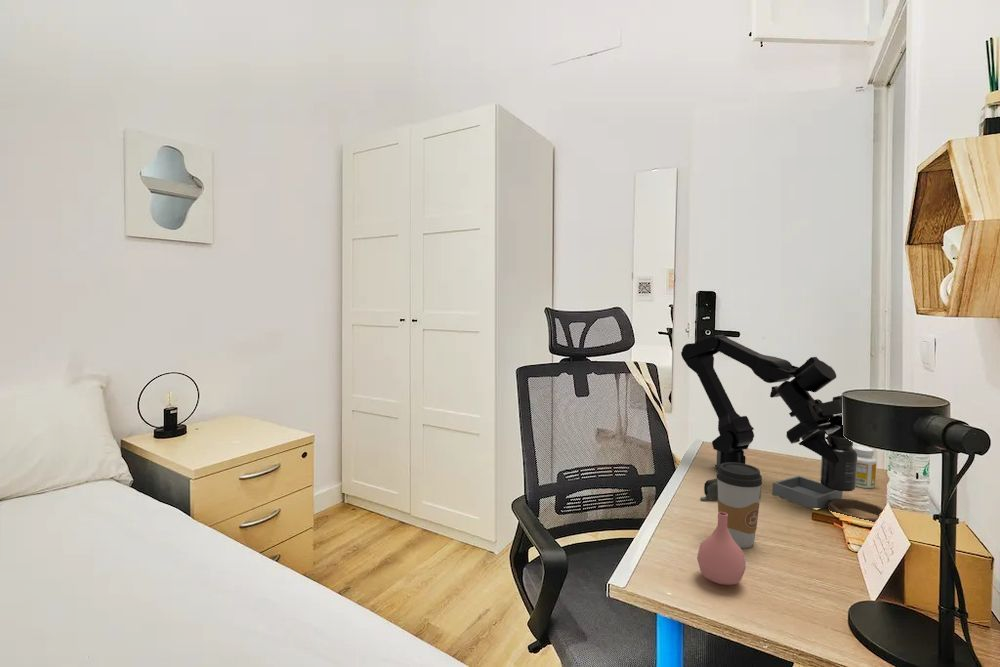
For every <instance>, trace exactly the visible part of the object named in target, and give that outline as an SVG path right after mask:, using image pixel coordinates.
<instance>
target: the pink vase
mask: <svg viewBox="0 0 1000 667" xmlns="http://www.w3.org/2000/svg"><path fill="white" fill-rule="evenodd" d="M727 519H728V514H727V513H725V512H718V511H717V525H716V527H715V529H714V530H713V531H712V534H711V535H709V536H708V537H707V538H706V539H704V540H703V541H701V542H700V544H699V548H698V551H697V557H696V560H697V563H698V567H699V570H700V572H701V574H702V576H703V577H705V578H706V579H707V580H709V581H712V582H714V583H715V584H718V585H722V586H723V585H724V586H725V585H736V584H738V583H740V582H741V581H742V579H743V576H744V574H745V571H746V570H747V569H746V567H747V566H746V559H745V553H744V551H743V548H740V547H739V546H738V545H737V544H736V542H735V541H734V540H733V538H732V536H731V534H730V532H729V530H728V528H727Z"/></svg>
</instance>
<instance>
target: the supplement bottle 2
mask: <svg viewBox="0 0 1000 667" xmlns="http://www.w3.org/2000/svg"><path fill="white" fill-rule="evenodd" d="M854 450H855V451H856V452H857V474H856V487H858V488H862V489H863V488H864V489H873V488H875V487H876V473H877V472H876V471H877V459H876V458H875V457H873V456H874V450H875V449H873V448H870V447H866V446H855V447H854Z"/></svg>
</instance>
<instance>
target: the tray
mask: <svg viewBox="0 0 1000 667" xmlns="http://www.w3.org/2000/svg"><path fill="white" fill-rule="evenodd" d="M843 492H844V491H837V490H833V489H830V488H827V487H825V486H823V485H822V484H821V481H820V482H819V481H818V480H817V481H816V480H814V479H810V478H807V477H804V476H800V475H795V476H793V477H789V478H785V479H782V480H778V481H774V482H772V493H771V494H772V495H773V496H776V497H778V498H781V499H784V500H786V501H789V502H792V503H794V504H797V505H800V506H802V507H805V508H808V509H811V510H813V508H823V509H825V508H828V503H829V502H831V501H832V500H834V499H843V494H844V493H843Z"/></svg>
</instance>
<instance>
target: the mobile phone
mask: <svg viewBox="0 0 1000 667" xmlns="http://www.w3.org/2000/svg"><path fill="white" fill-rule="evenodd" d="M703 486H704V487H703V491H704V492H703V493H704V495H705V497H704V496H703V497H702V496H701V497H700V501H718V481H717V477H716V478H712V479H707V480H706V481H705V482H704V485H703ZM761 494H762V489H761V490H760V499H759V501H760V500H761V496H762V495H761Z"/></svg>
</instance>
